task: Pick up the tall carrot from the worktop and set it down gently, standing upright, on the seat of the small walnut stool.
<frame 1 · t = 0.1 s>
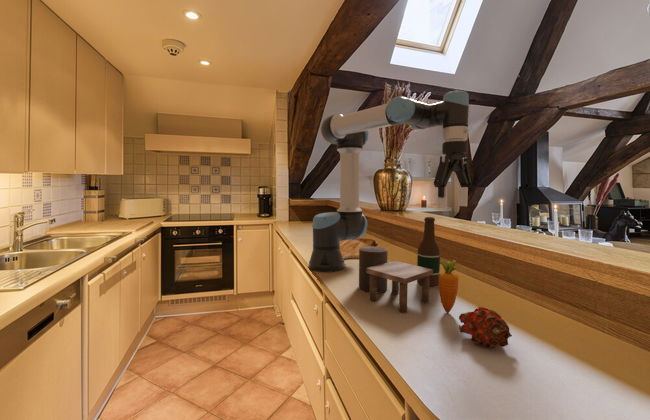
hand: (452, 207, 99), 28 cm above the worktop, fingers open, 13 cm apart
dragon fruit: (481, 343, 68), on the worktop
carrot: (447, 313, 83), on the worktop
walnut stool: (398, 300, 92), on the worktop
beer bottle: (428, 284, 108), on the worktop
pillar candle: (373, 288, 104), on the worktop
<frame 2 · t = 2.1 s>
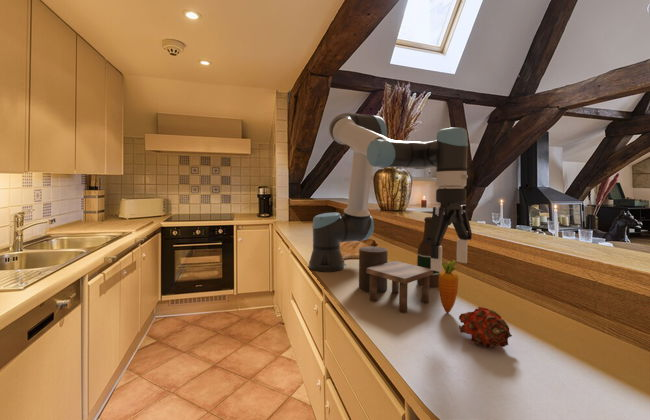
hand: (449, 266, 82), 13 cm above the worktop, fingers open, 13 cm apart
nothing on the worktop moved.
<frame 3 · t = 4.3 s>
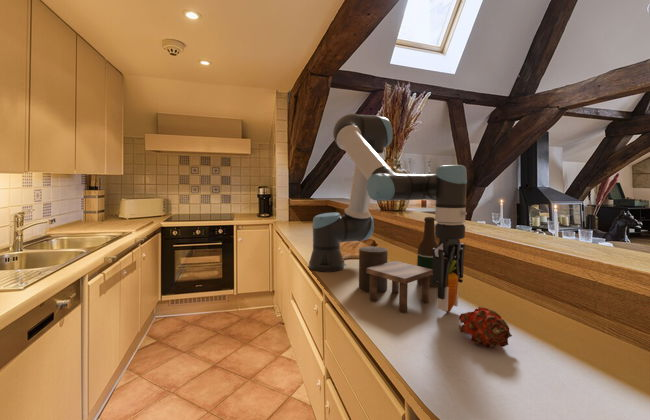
hand: (447, 306, 83), 2 cm above the worktop, fingers closed on carrot, 5 cm apart
carrot: (447, 313, 83), on the worktop, touching gripper
everything else where it was.
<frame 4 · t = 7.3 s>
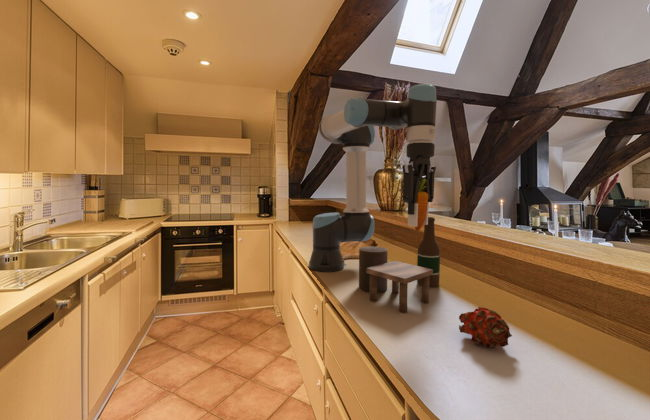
hand: (417, 224, 87), 24 cm above the worktop, fingers closed on carrot, 5 cm apart
carrot: (417, 231, 88), point 22 cm above the worktop, touching gripper
everything else where it was.
when the fingers open (13 cm above the worktop, at t = 10.5 s): carrot drops 1 cm, resting on walnut stool.
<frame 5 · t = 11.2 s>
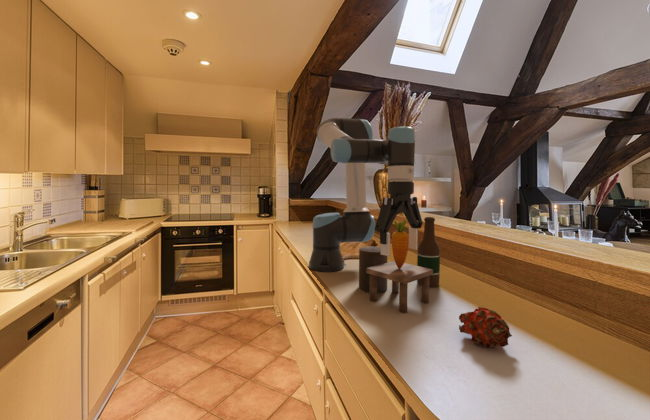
hand: (399, 251, 91), 15 cm above the worktop, fingers open, 13 cm apart
carrot: (399, 269, 92), point 10 cm above the worktop, touching walnut stool
everything else where it was.
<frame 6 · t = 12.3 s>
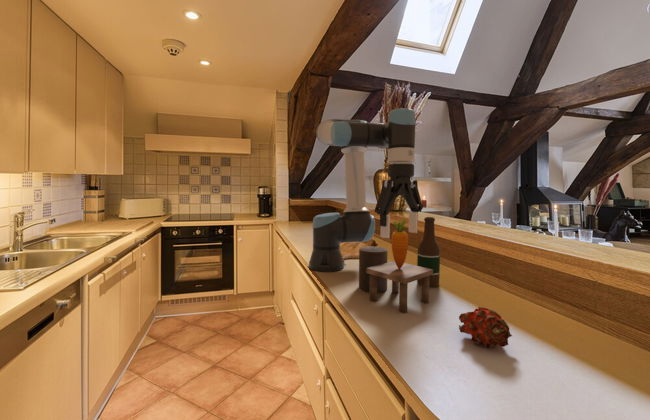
hand: (399, 235, 91), 20 cm above the worktop, fingers open, 13 cm apart
nothing on the worktop moved.
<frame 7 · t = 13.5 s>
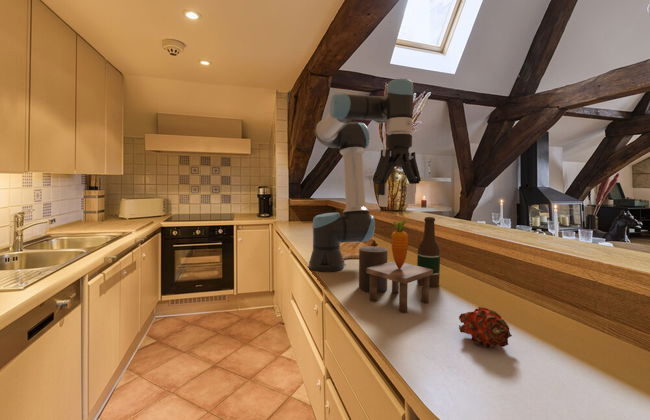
hand: (397, 205, 92), 29 cm above the worktop, fingers open, 13 cm apart
nothing on the worktop moved.
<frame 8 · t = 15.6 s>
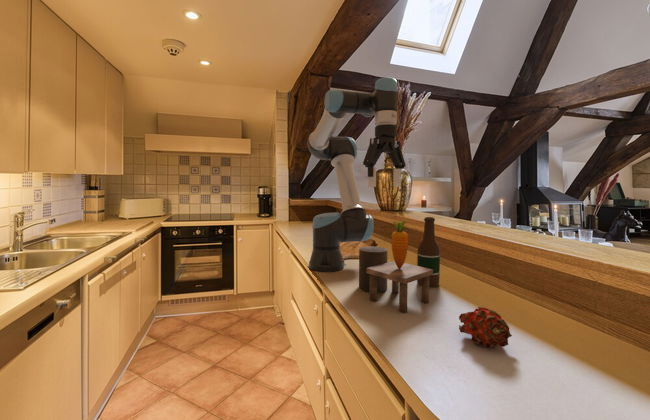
hand: (385, 186, 107), 35 cm above the worktop, fingers open, 13 cm apart
nothing on the worktop moved.
at the end: carrot inside the target area on the walnut stool (0.0 cm from its centre), point 9.8 cm above the walnut stool's base; carrot tilted 1°; the gripper is holding nothing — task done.
